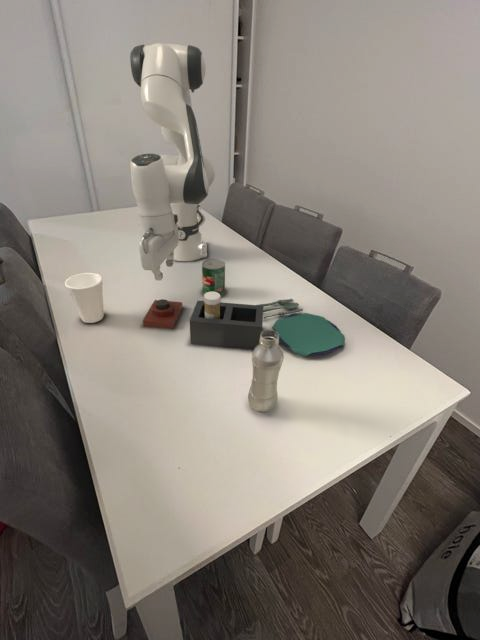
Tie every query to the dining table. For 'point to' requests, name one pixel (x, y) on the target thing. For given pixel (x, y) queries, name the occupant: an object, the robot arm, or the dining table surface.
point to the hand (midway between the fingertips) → (165, 272)
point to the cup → (87, 295)
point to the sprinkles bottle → (212, 305)
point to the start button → (162, 304)
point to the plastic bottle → (265, 371)
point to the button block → (163, 315)
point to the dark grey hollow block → (227, 326)
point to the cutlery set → (305, 331)
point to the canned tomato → (213, 276)
